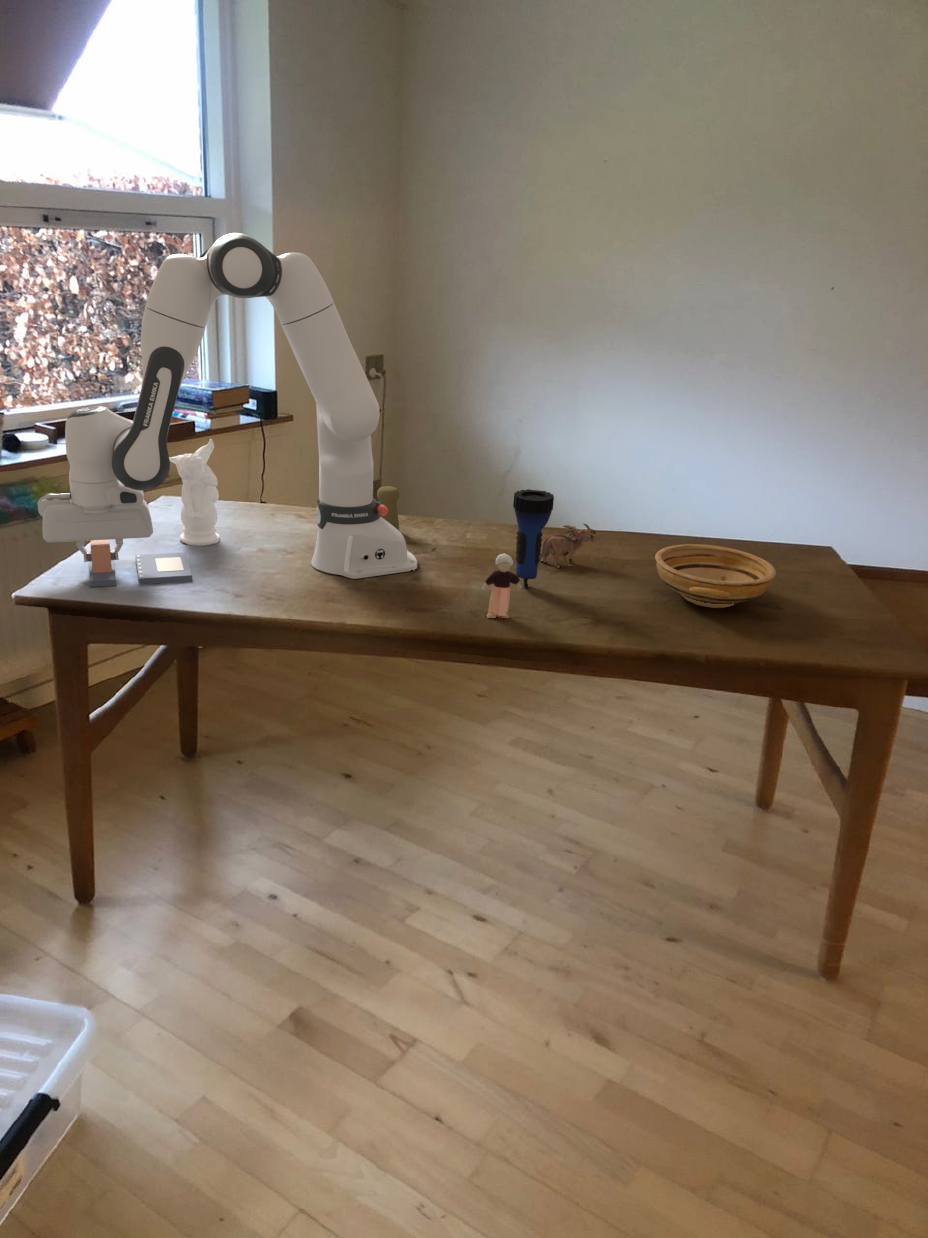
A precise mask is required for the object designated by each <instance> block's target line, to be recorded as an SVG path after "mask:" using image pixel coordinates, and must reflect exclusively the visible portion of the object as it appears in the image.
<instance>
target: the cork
mask: <svg viewBox="0 0 928 1238" xmlns="http://www.w3.org/2000/svg"><path fill="white" fill-rule="evenodd" d="M376 497H377V499H378V500H377V501H378V502H380V503H381V504H382V505H385V506H386V507H387V508H388V513H387V515H385V516H381V517H382V518H383V519H385V520H386V521H387V522H389V523H390V524H391V525H392V526H394V527H395V528H396V529H397V530H400V521H399V511H398V500H399V498H400V491H399V490H398V488H397V487H394V486H390V485H387V486H386V485H385V486H381V487H379V488H378V490H377V492H376Z"/></svg>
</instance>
